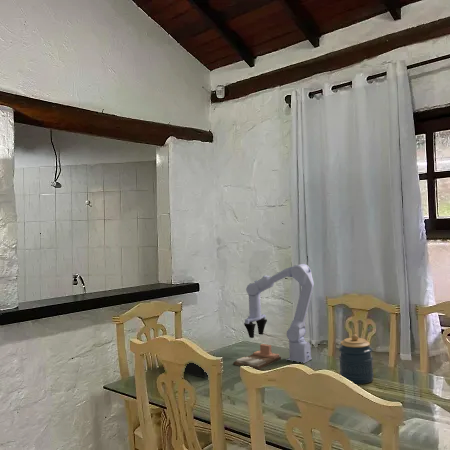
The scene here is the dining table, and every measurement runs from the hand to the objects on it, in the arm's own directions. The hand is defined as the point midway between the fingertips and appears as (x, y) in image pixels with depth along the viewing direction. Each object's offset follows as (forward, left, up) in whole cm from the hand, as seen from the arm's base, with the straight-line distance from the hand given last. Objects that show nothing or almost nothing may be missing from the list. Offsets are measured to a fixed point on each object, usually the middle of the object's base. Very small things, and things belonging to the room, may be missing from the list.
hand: (256, 336), depth 219 cm
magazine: (+12, +36, -10) cm, 39 cm away
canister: (-53, +6, -10) cm, 54 cm away
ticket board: (-6, +8, -9) cm, 14 cm away
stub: (-6, +1, -8) cm, 10 cm away
